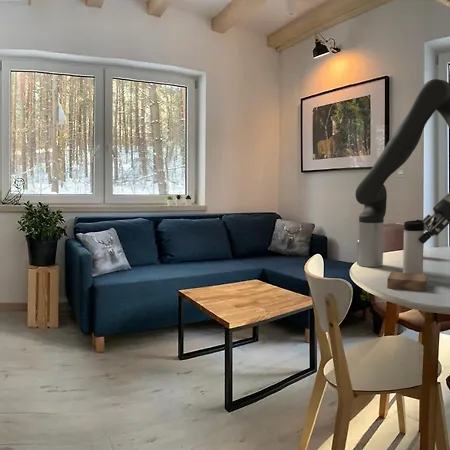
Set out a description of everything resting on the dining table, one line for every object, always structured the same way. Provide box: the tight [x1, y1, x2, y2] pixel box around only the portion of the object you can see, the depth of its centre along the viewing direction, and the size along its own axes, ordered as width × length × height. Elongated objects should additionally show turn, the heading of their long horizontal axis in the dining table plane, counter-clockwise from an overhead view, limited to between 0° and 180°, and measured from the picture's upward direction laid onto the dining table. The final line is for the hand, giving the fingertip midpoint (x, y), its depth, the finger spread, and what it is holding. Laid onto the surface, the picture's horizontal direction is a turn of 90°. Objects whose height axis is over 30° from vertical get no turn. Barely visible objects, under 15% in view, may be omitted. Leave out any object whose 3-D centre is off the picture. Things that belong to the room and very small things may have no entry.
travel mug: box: [402, 219, 425, 274], centre depth 155 cm, size 6×7×20 cm
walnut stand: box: [386, 271, 428, 292], centre depth 146 cm, size 11×11×3 cm
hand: (416, 240), depth 155 cm, fingers open, 8 cm apart
